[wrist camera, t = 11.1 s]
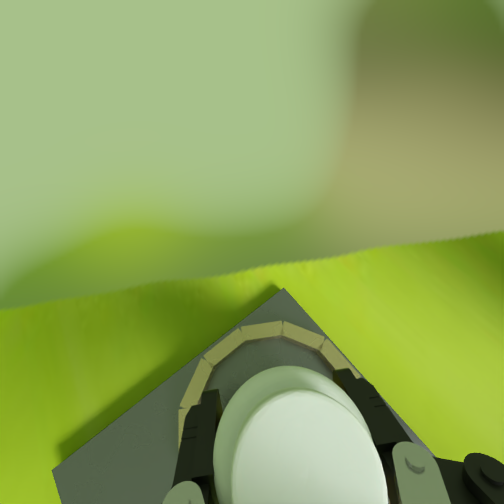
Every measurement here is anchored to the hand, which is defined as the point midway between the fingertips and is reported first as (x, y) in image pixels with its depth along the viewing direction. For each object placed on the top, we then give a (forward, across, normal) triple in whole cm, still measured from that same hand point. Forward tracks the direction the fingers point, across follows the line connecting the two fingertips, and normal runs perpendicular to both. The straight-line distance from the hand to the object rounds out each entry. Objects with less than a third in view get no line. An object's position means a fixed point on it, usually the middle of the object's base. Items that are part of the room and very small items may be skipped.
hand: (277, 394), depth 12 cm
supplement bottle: (+2, 0, +5) cm, 5 cm away
